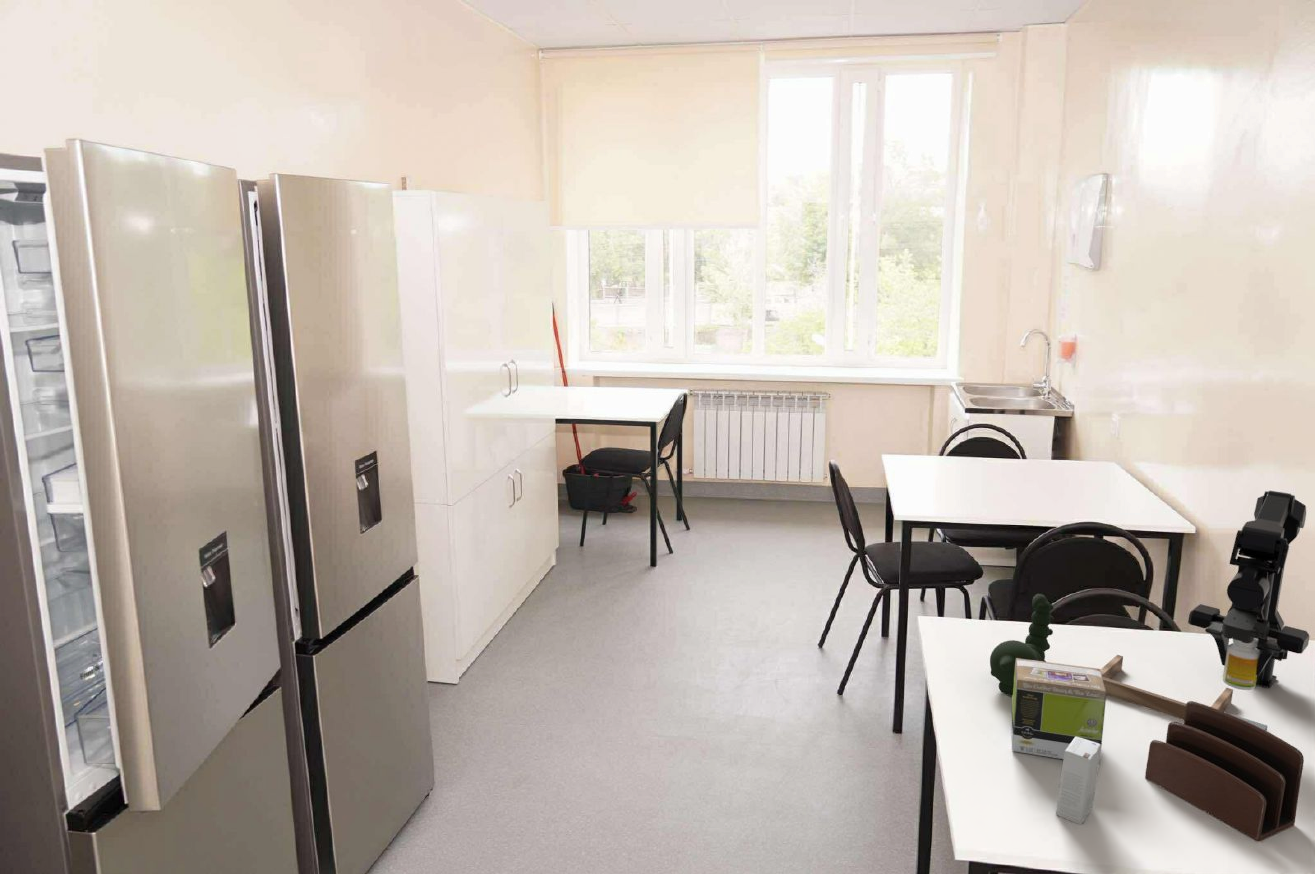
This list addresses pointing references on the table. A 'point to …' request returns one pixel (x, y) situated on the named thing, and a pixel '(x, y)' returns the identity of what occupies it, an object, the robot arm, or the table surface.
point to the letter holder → (1229, 770)
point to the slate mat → (1253, 723)
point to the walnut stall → (1150, 698)
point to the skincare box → (1078, 779)
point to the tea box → (1055, 707)
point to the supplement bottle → (1241, 665)
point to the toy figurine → (1023, 646)
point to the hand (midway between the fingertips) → (1240, 669)
